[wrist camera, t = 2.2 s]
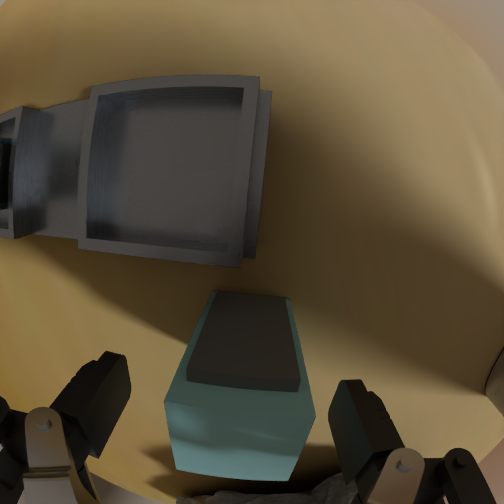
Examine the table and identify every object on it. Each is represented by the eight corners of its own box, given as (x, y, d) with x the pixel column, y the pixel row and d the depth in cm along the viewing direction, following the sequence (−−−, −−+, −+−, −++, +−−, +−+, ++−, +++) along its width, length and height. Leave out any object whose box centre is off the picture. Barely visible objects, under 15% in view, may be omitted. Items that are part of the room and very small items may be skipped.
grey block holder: (270, 105, 12) (289, -55, 2) (255, 248, 13) (242, 401, 3) (0, 132, 12) (-98, 131, 2) (-5, 222, 13) (-101, 253, 4)
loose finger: (291, 290, 14) (320, 403, 6) (278, 361, 15) (288, 480, 7) (212, 282, 14) (162, 387, 6) (209, 354, 15) (176, 469, 7)
